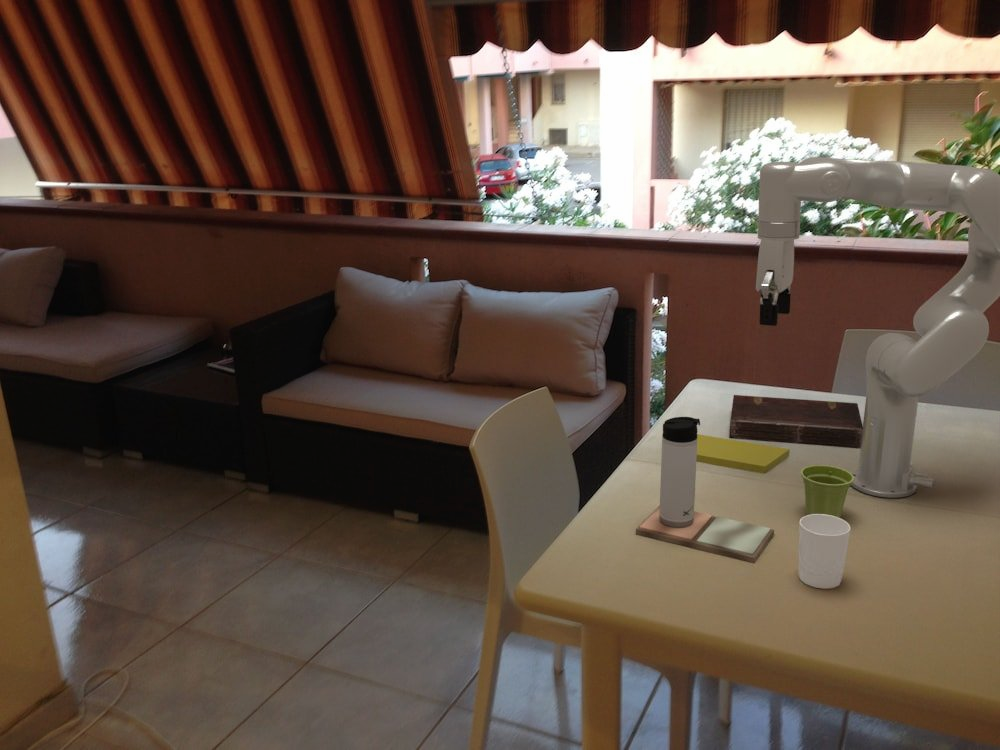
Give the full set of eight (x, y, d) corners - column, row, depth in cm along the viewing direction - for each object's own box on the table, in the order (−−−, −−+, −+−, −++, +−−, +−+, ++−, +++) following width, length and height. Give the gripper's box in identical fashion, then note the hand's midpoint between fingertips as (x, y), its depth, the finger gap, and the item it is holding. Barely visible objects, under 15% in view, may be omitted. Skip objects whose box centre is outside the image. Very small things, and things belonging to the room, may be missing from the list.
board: (773, 534, 170) (774, 527, 169) (754, 562, 160) (754, 555, 160) (660, 509, 181) (660, 502, 180) (635, 534, 171) (635, 527, 171)
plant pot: (812, 501, 183) (815, 460, 180) (858, 516, 176) (862, 473, 174) (788, 516, 177) (791, 474, 174) (835, 532, 170) (839, 489, 168)
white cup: (838, 595, 149) (844, 539, 146) (789, 583, 153) (793, 528, 150) (849, 574, 156) (855, 520, 153) (802, 563, 160) (806, 509, 157)
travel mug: (695, 529, 169) (700, 426, 163) (658, 526, 171) (662, 424, 165) (695, 514, 175) (700, 414, 169) (660, 511, 176) (663, 412, 170)
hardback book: (729, 440, 216) (730, 420, 215) (732, 413, 233) (733, 394, 232) (861, 451, 209) (864, 430, 207) (855, 422, 226) (857, 403, 224)
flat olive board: (666, 458, 207) (775, 478, 195) (666, 449, 206) (776, 468, 195) (683, 440, 217) (789, 458, 205) (684, 432, 216) (789, 449, 205)
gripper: (770, 222, 183) (766, 307, 188) (745, 236, 168) (742, 328, 174) (809, 223, 179) (805, 310, 184) (787, 238, 165) (783, 331, 170)
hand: (774, 318), depth 179 cm, fingers open, 9 cm apart
